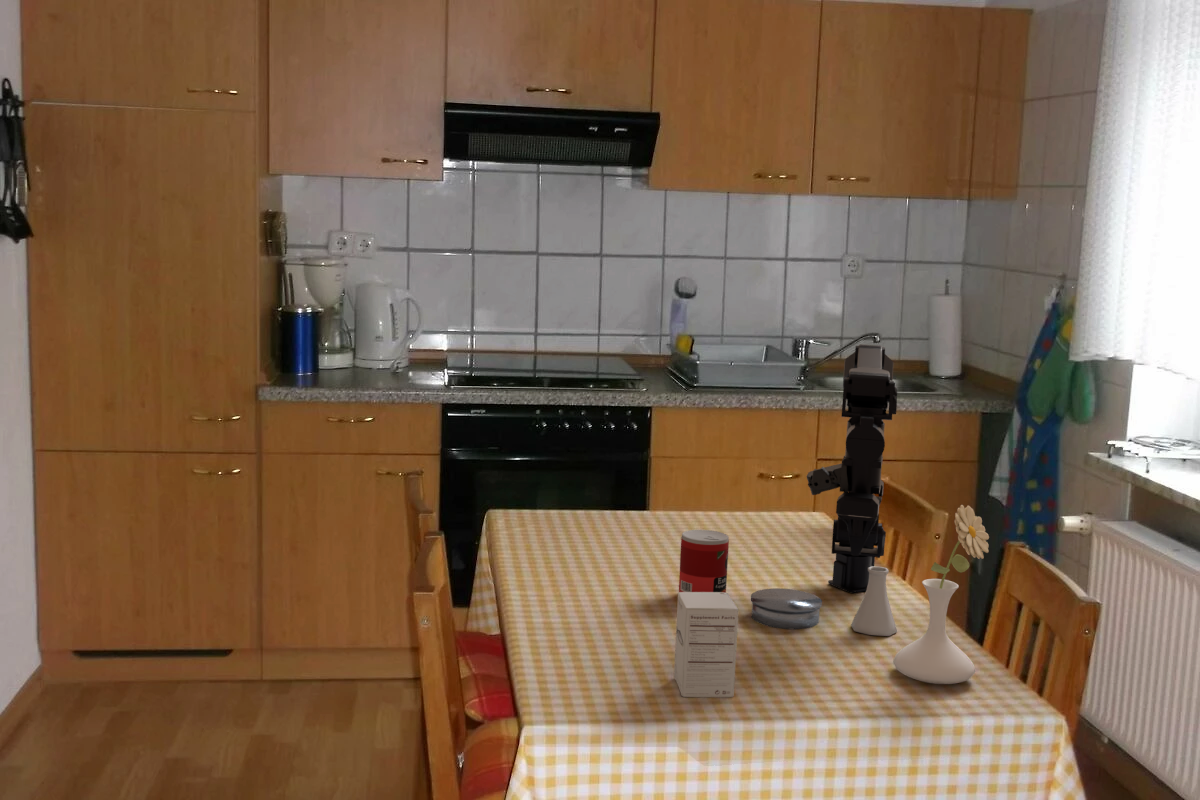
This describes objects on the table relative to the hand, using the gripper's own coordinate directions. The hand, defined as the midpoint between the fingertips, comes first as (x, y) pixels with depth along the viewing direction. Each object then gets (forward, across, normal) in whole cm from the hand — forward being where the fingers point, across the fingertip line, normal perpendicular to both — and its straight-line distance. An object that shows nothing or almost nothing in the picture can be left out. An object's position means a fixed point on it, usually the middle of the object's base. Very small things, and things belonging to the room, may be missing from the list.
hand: (857, 548), depth 205 cm
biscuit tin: (+13, 0, -11) cm, 17 cm away
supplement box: (+13, +35, -18) cm, 41 cm away
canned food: (+13, -6, -25) cm, 29 cm away
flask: (+13, 0, +4) cm, 14 cm away
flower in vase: (+13, +18, +13) cm, 26 cm away
